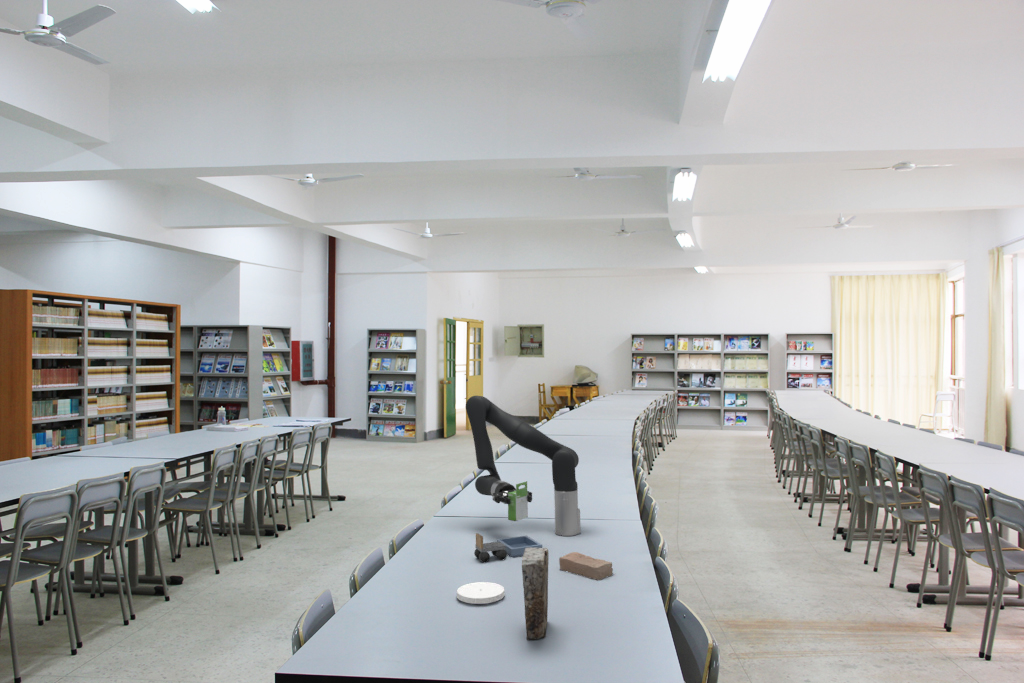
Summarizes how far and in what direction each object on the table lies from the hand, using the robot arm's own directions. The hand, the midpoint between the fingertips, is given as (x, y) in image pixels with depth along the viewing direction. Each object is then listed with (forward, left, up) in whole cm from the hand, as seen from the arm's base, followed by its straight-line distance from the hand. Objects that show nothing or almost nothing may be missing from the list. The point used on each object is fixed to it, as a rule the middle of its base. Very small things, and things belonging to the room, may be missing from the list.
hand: (520, 500), depth 249 cm
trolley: (+13, +3, -18) cm, 23 cm away
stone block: (+24, +66, -19) cm, 73 cm away
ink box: (0, -2, -7) cm, 8 cm away
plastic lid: (+29, +37, -19) cm, 51 cm away
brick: (-10, +30, -19) cm, 37 cm away
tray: (0, -2, -18) cm, 19 cm away
